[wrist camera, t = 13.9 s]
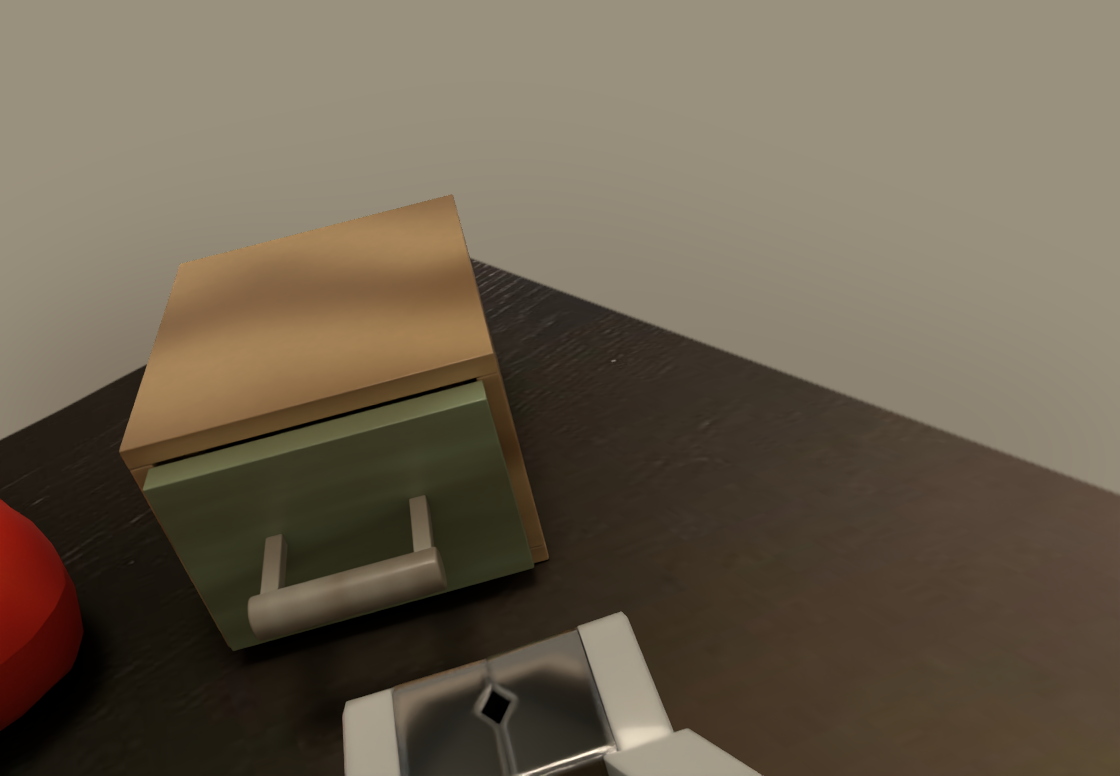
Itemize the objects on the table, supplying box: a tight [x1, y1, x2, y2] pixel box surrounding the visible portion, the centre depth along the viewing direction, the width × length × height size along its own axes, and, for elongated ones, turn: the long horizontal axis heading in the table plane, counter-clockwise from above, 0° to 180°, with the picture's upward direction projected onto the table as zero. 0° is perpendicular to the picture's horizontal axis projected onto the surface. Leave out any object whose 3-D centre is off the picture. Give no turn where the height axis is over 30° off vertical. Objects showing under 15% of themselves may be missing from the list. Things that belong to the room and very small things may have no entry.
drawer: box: [143, 378, 534, 651], centre depth 38 cm, size 18×11×8 cm, turn 11°
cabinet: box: [119, 195, 549, 647], centre depth 41 cm, size 15×13×10 cm
